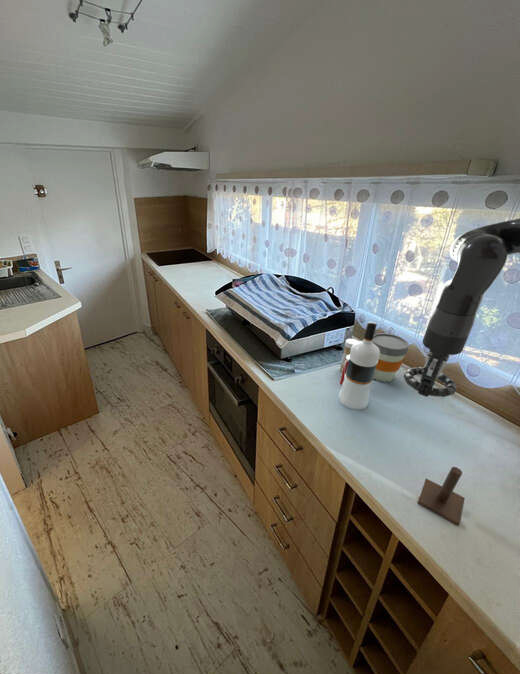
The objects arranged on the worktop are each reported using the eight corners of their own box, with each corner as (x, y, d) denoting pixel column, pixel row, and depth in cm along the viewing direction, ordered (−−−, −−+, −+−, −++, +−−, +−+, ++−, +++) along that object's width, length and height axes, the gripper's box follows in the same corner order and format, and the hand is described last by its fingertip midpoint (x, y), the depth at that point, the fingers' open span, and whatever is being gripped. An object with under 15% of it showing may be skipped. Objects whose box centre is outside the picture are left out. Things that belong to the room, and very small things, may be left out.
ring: (458, 383, 77) (460, 376, 76) (449, 404, 70) (452, 397, 69) (409, 367, 84) (411, 361, 83) (397, 385, 77) (400, 378, 76)
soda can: (346, 391, 109) (353, 363, 103) (336, 383, 113) (342, 355, 107) (357, 387, 111) (364, 359, 105) (347, 379, 115) (353, 352, 109)
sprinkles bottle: (344, 366, 123) (351, 337, 117) (354, 371, 120) (361, 342, 113) (337, 370, 121) (343, 340, 115) (346, 375, 117) (353, 345, 111)
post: (463, 500, 72) (481, 469, 67) (458, 526, 67) (477, 494, 62) (424, 480, 77) (438, 450, 72) (417, 503, 72) (432, 472, 67)
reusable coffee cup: (376, 386, 111) (386, 351, 104) (355, 367, 122) (363, 334, 115) (406, 382, 113) (417, 347, 106) (383, 364, 124) (392, 331, 117)
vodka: (339, 409, 101) (358, 328, 86) (336, 392, 109) (352, 315, 94) (369, 413, 99) (393, 331, 85) (364, 395, 107) (385, 317, 93)
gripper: (464, 346, 59) (436, 413, 67) (474, 322, 68) (448, 385, 76) (420, 334, 64) (399, 399, 72) (435, 314, 73) (414, 373, 81)
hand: (424, 391), depth 74 cm, fingers closed on ring, 2 cm apart
